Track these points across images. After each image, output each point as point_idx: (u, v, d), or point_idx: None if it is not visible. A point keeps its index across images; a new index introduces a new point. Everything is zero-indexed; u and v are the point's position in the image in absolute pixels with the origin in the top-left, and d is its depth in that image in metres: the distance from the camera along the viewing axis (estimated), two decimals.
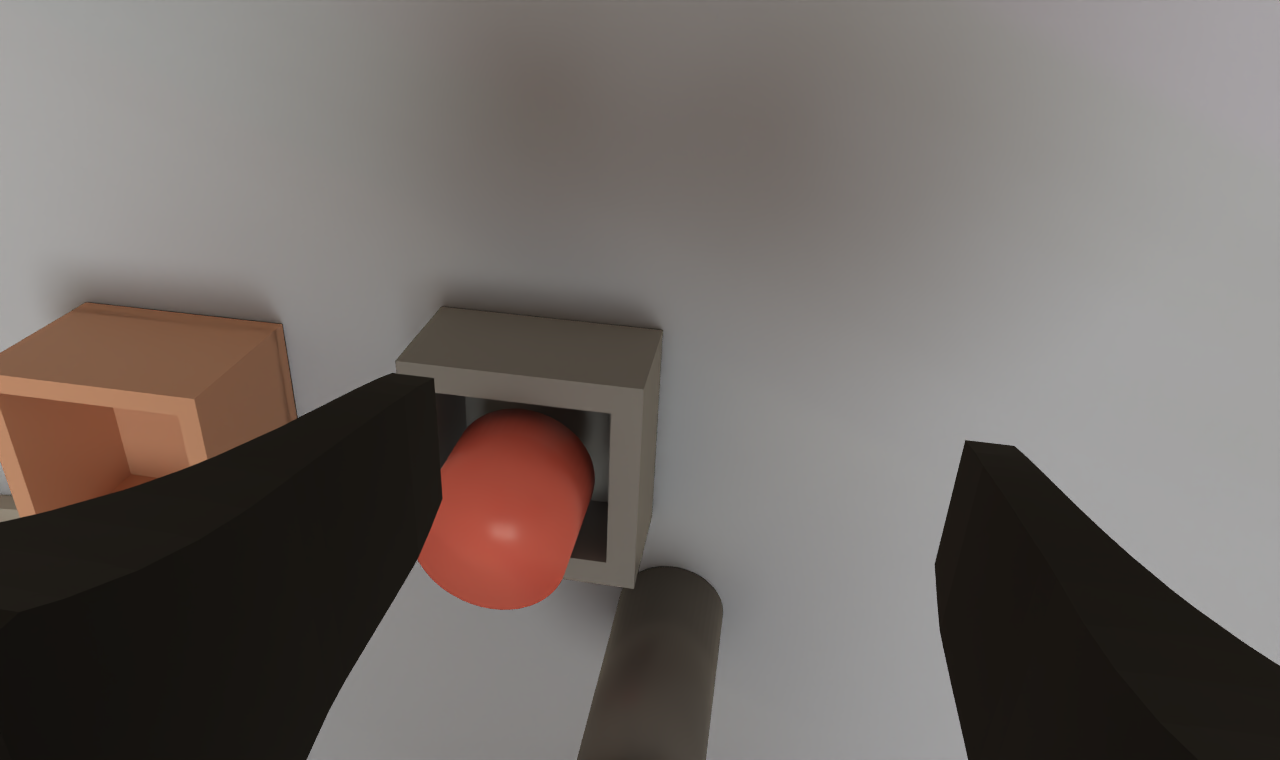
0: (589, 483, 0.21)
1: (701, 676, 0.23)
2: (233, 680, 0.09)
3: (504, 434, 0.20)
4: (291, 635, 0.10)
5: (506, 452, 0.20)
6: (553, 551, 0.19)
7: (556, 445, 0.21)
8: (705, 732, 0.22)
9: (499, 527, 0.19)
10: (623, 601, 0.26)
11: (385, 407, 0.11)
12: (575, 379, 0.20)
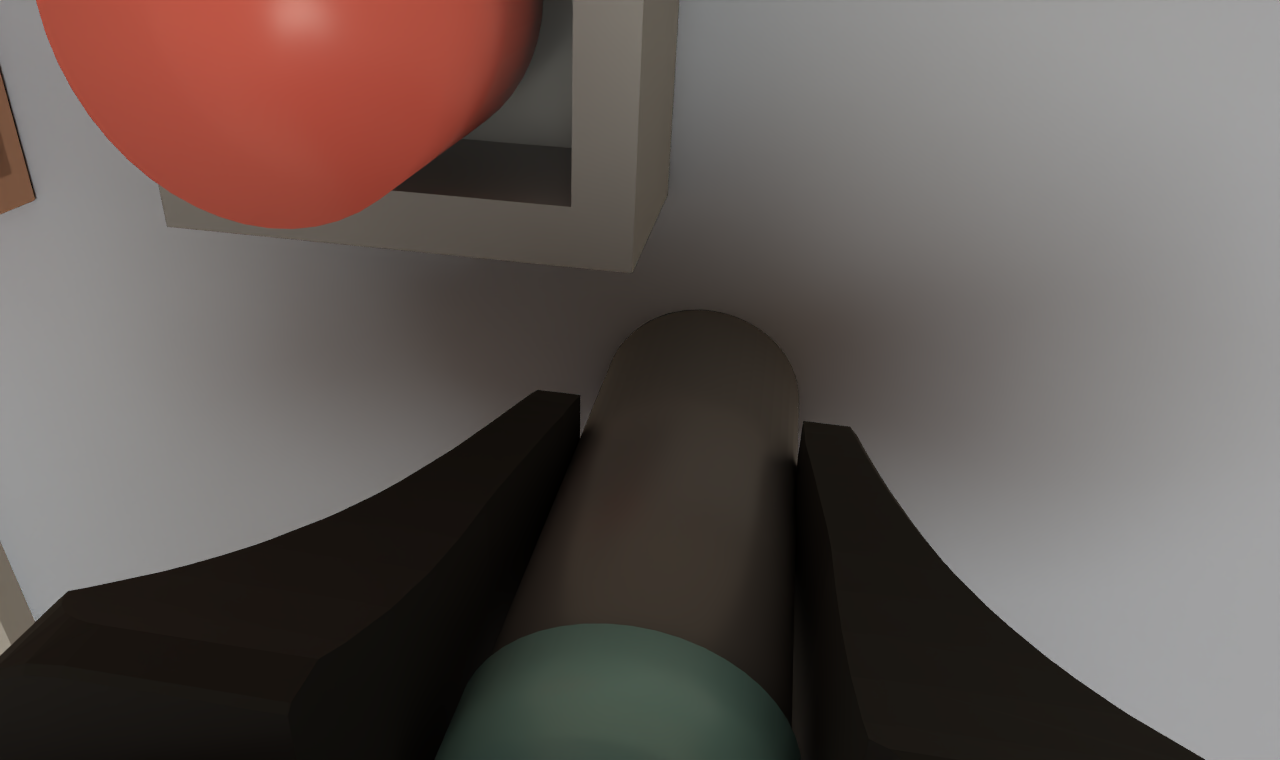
0: None
1: (775, 477, 0.11)
2: (442, 714, 0.08)
3: None
4: (478, 664, 0.10)
5: None
6: (410, 12, 0.07)
7: None
8: (791, 583, 0.10)
9: None
10: (612, 370, 0.13)
11: (549, 427, 0.11)
12: None
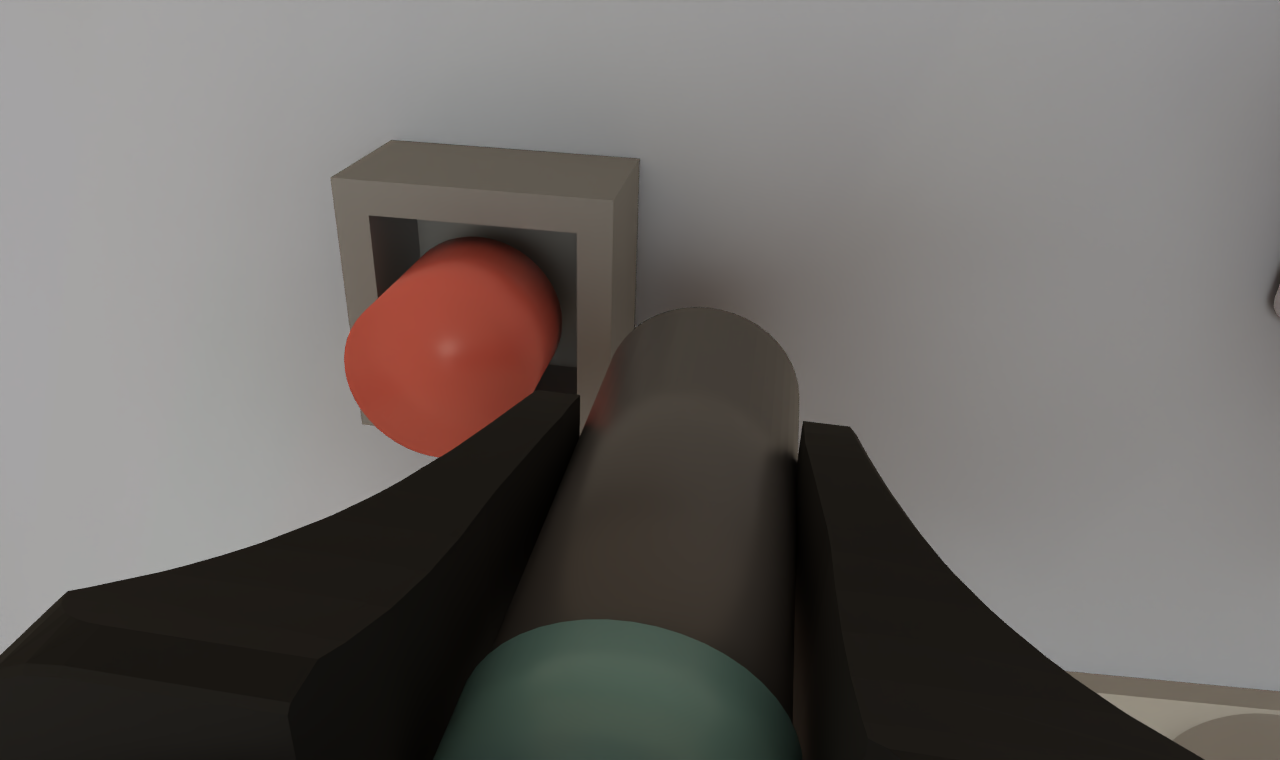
0: (456, 245, 0.18)
1: (776, 473, 0.11)
2: (441, 714, 0.08)
3: None
4: (477, 664, 0.10)
5: None
6: (419, 306, 0.16)
7: None
8: (792, 580, 0.10)
9: (401, 362, 0.17)
10: (612, 367, 0.13)
11: (549, 427, 0.11)
12: (342, 250, 0.19)
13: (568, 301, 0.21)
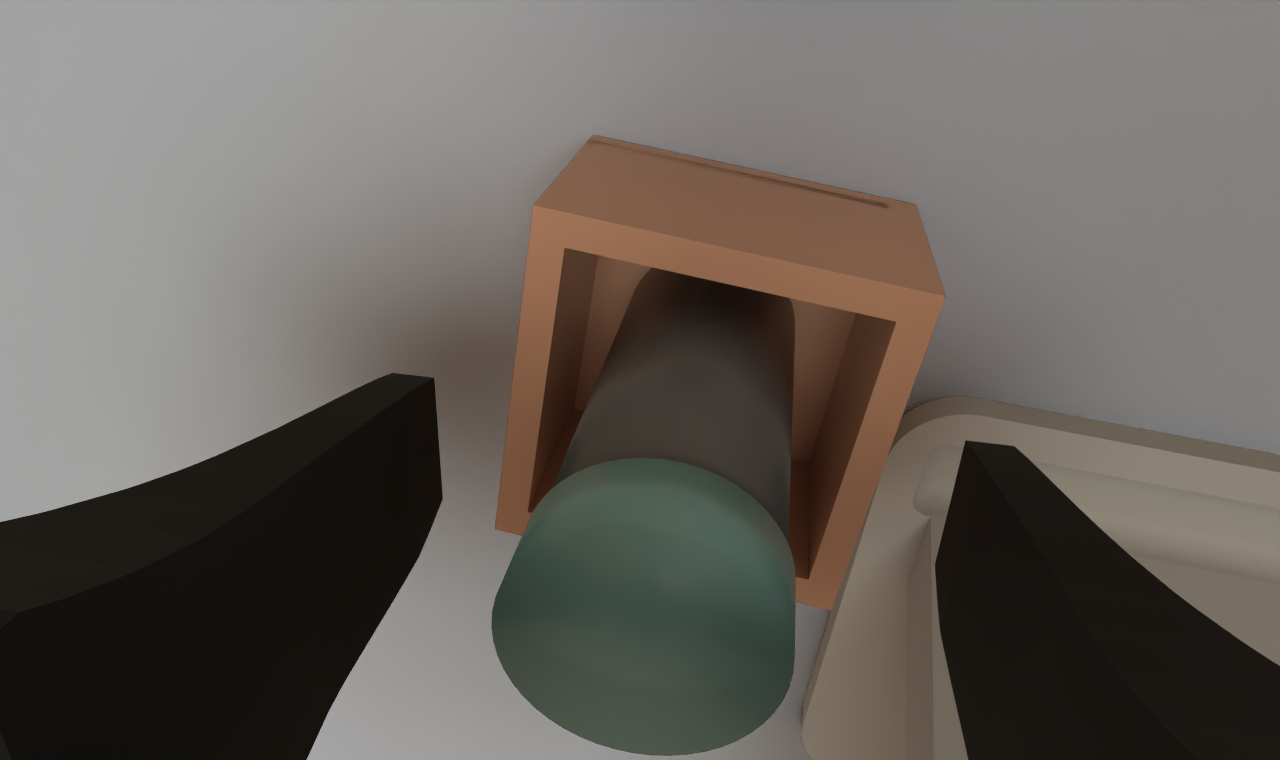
0: None
1: (775, 375, 0.13)
2: (233, 680, 0.09)
3: None
4: (291, 635, 0.10)
5: None
6: None
7: None
8: (788, 454, 0.12)
9: None
10: (635, 296, 0.16)
11: (385, 407, 0.11)
12: None
13: None
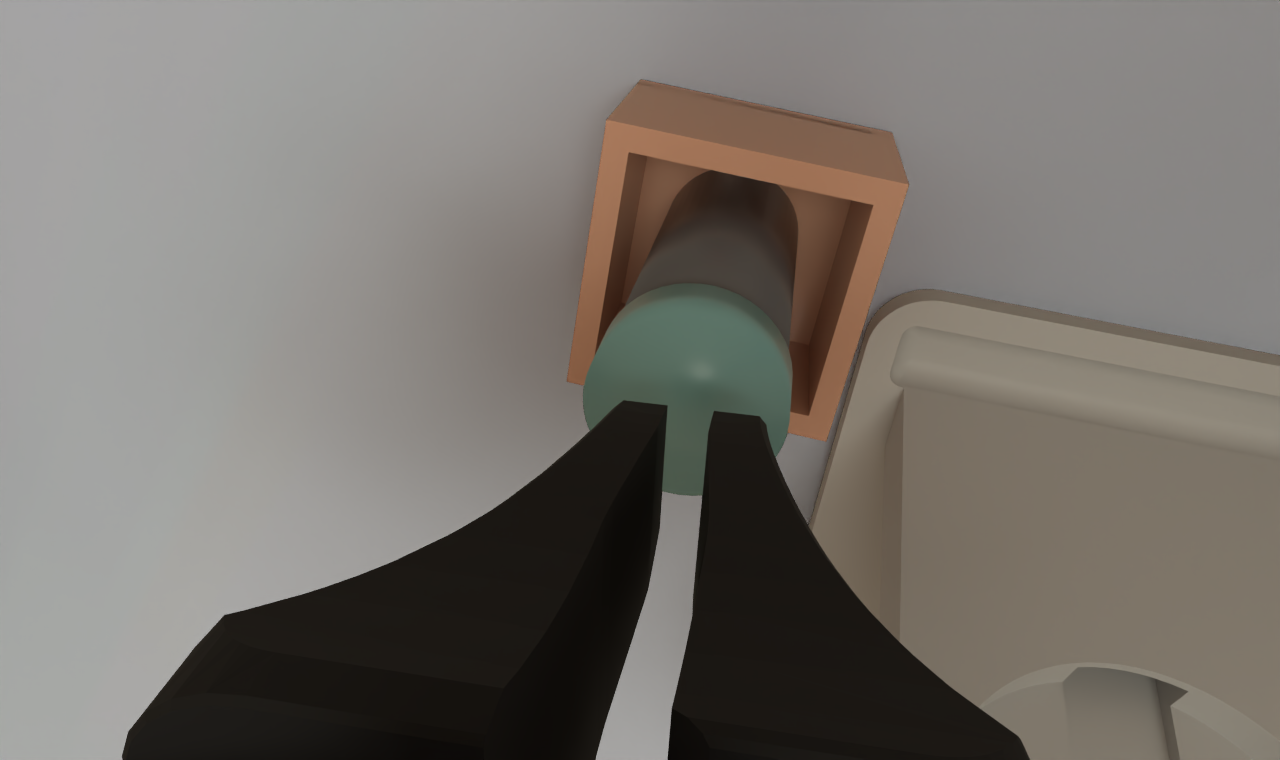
0: None
1: (780, 250, 0.18)
2: (568, 734, 0.08)
3: None
4: (590, 681, 0.09)
5: None
6: None
7: None
8: (789, 302, 0.17)
9: None
10: (673, 204, 0.20)
11: (647, 439, 0.11)
12: None
13: None
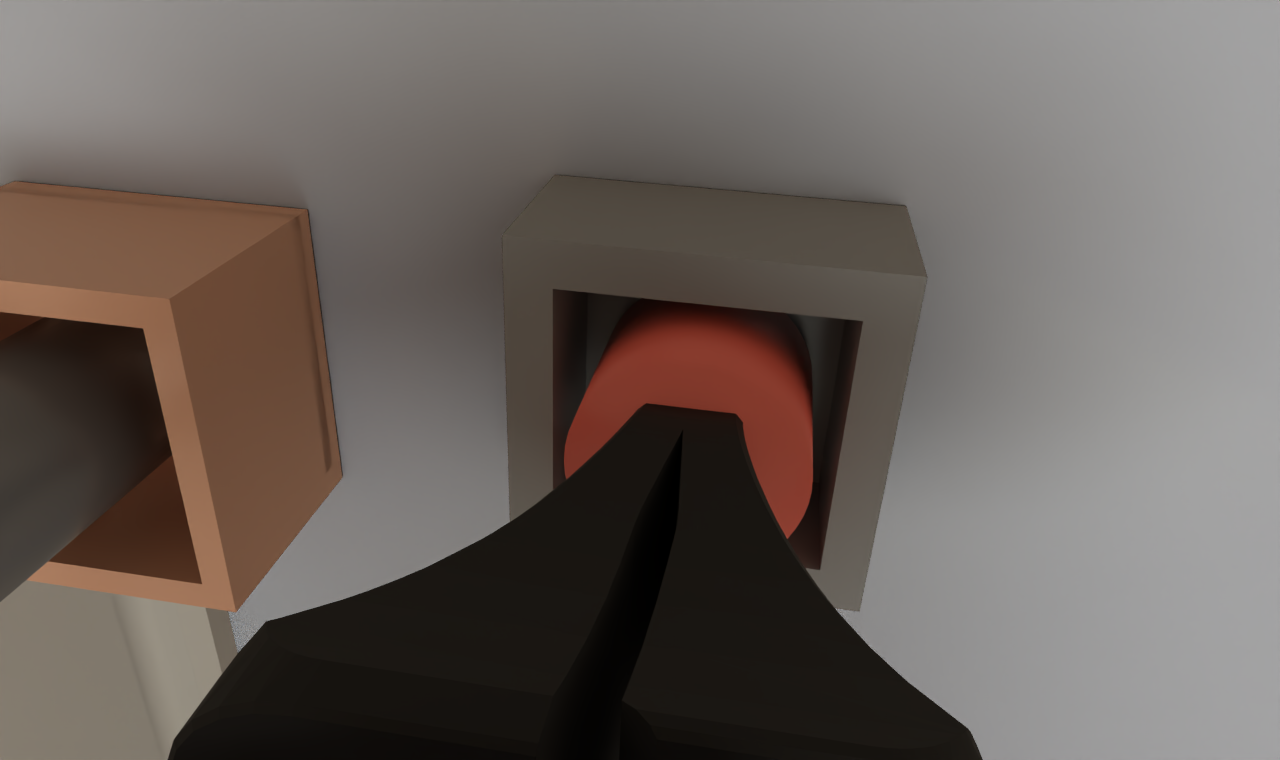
0: (812, 389, 0.14)
1: (112, 505, 0.15)
2: (601, 740, 0.08)
3: (699, 308, 0.13)
4: (620, 686, 0.09)
5: (712, 330, 0.13)
6: (792, 478, 0.12)
7: (774, 327, 0.14)
8: None
9: None
10: None
11: (673, 443, 0.11)
12: (806, 262, 0.12)
13: None
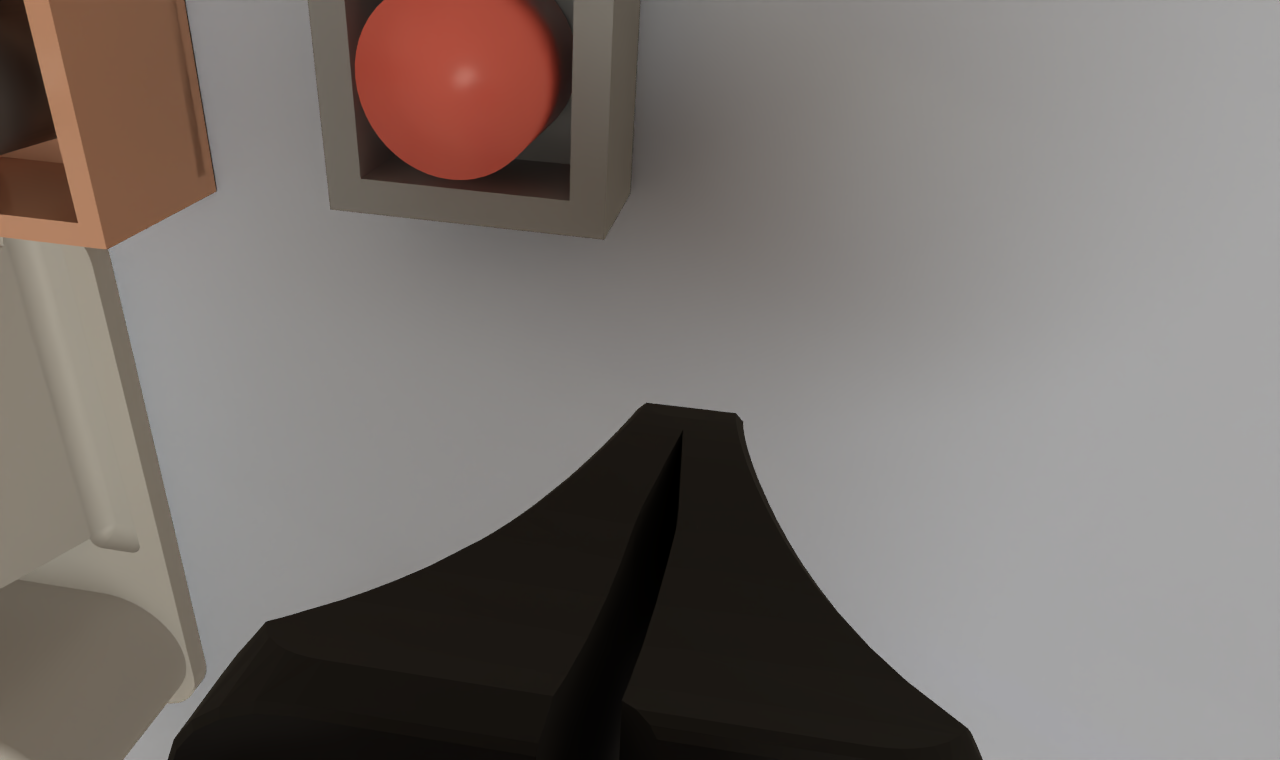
0: (570, 55, 0.18)
1: None
2: (602, 740, 0.08)
3: None
4: (620, 686, 0.09)
5: None
6: (524, 84, 0.16)
7: None
8: None
9: (460, 53, 0.16)
10: None
11: (673, 442, 0.11)
12: None
13: None
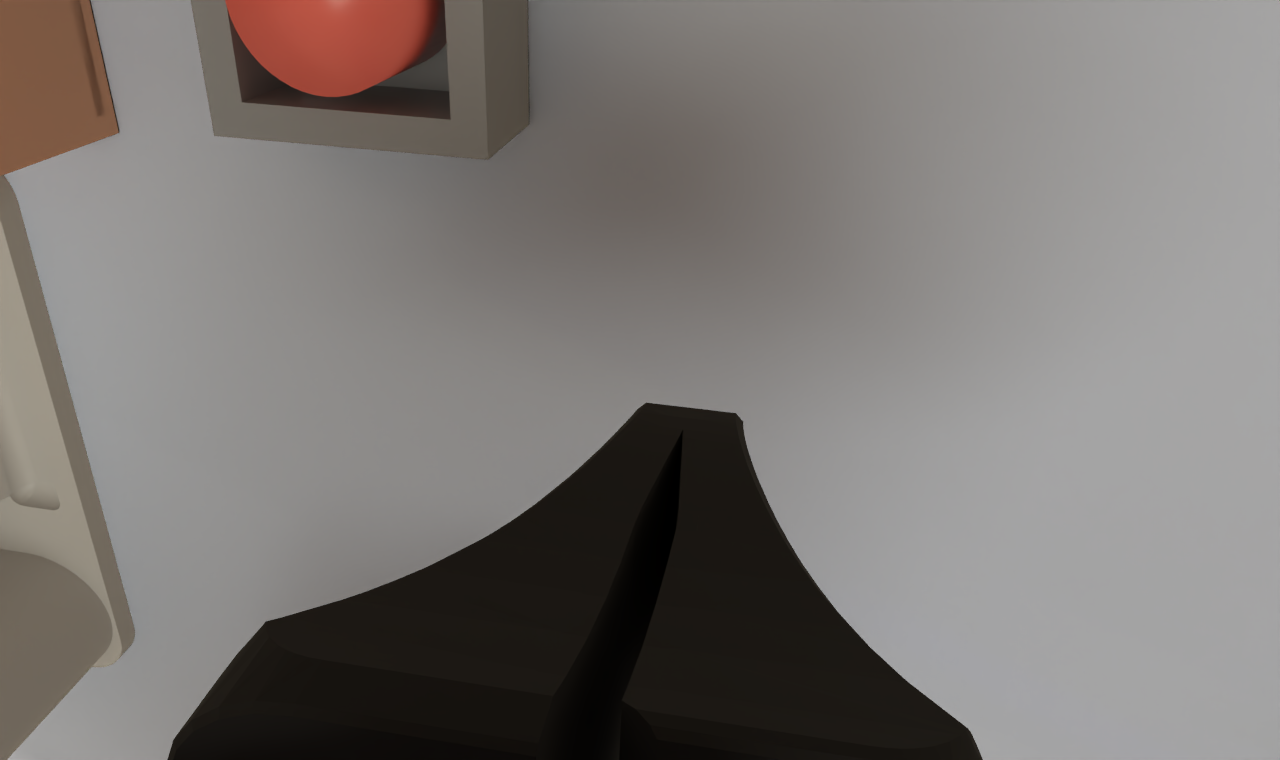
0: None
1: None
2: (602, 740, 0.08)
3: None
4: (620, 686, 0.09)
5: None
6: None
7: None
8: None
9: None
10: None
11: (673, 442, 0.11)
12: None
13: None
